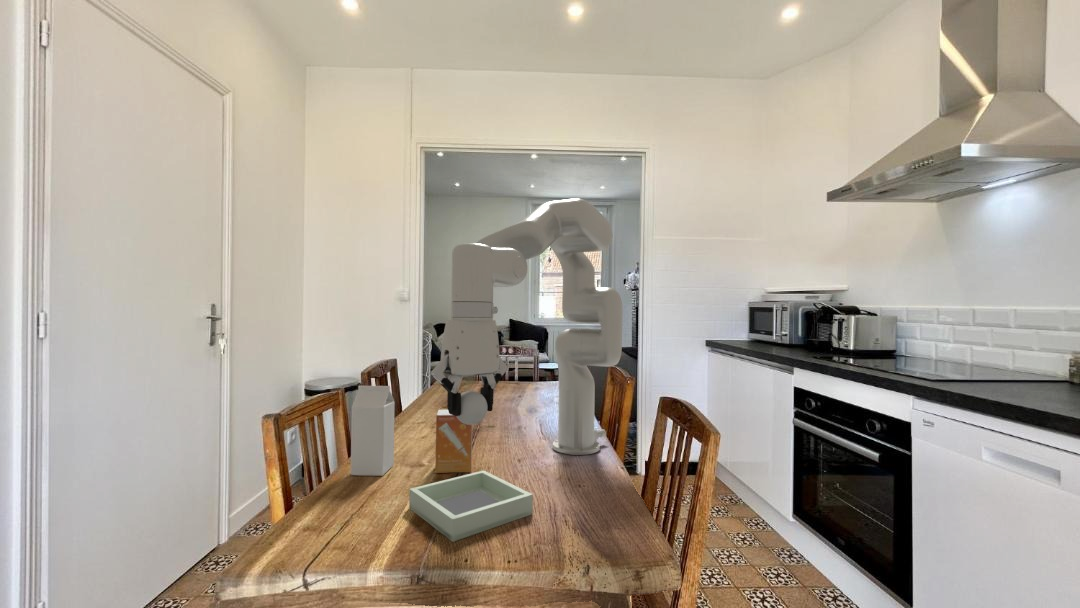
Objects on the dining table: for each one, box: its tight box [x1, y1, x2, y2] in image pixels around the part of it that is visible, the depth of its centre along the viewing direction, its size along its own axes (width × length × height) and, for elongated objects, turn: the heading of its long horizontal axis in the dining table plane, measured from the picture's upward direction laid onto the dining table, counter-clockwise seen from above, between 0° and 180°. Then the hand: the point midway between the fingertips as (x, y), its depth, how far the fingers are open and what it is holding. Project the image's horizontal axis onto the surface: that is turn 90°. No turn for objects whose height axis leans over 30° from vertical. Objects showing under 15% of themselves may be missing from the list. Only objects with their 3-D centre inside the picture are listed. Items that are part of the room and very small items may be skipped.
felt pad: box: [436, 490, 499, 515], centre depth 84 cm, size 10×10×1 cm
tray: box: [408, 470, 534, 543], centre depth 84 cm, size 16×16×4 cm
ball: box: [456, 390, 488, 426], centre depth 84 cm, size 6×6×6 cm
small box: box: [434, 409, 473, 474], centre depth 107 cm, size 8×6×13 cm
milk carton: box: [350, 385, 396, 477], centre depth 105 cm, size 7×7×19 cm
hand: (470, 411), depth 84 cm, fingers closed on ball, 5 cm apart
